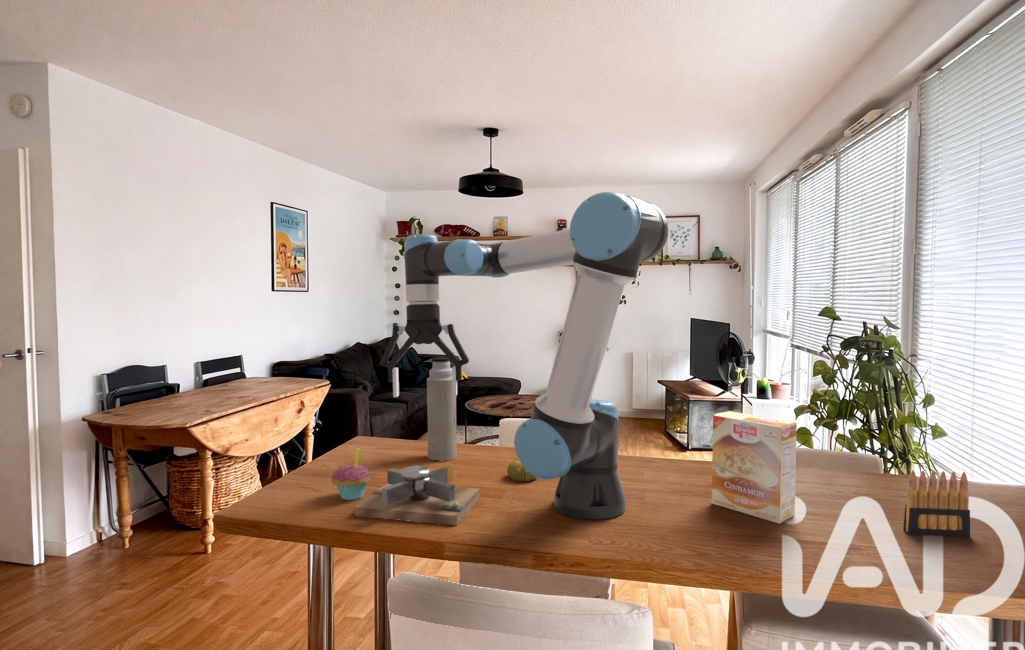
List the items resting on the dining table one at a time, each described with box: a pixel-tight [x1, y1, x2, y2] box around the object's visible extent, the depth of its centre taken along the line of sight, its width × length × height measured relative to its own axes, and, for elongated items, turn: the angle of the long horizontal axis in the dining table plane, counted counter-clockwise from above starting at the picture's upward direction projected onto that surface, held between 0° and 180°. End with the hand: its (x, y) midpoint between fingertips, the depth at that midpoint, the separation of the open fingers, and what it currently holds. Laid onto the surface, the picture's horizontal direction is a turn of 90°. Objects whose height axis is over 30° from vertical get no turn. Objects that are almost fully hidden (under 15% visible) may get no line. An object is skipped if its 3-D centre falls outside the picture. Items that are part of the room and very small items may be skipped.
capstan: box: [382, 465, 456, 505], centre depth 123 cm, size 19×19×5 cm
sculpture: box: [506, 459, 537, 482], centre depth 143 cm, size 8×4×8 cm
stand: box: [354, 482, 481, 526], centre depth 124 cm, size 22×16×4 cm
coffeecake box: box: [711, 410, 798, 525], centre depth 121 cm, size 15×7×20 cm, turn 40°
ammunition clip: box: [902, 470, 971, 538], centre depth 108 cm, size 11×2×12 cm, turn 83°
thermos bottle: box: [426, 356, 458, 461], centre depth 161 cm, size 8×8×28 cm
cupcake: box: [330, 444, 372, 501], centre depth 130 cm, size 9×8×12 cm
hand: (425, 395), depth 133 cm, fingers open, 13 cm apart
